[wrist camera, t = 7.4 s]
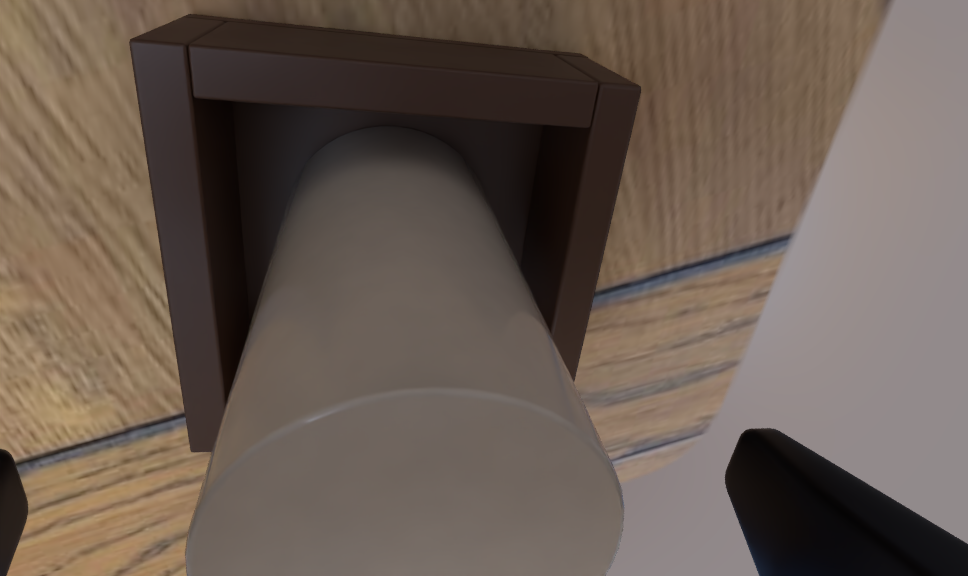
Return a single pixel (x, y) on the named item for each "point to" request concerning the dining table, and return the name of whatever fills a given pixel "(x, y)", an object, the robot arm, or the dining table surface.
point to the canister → (401, 392)
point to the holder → (338, 111)
